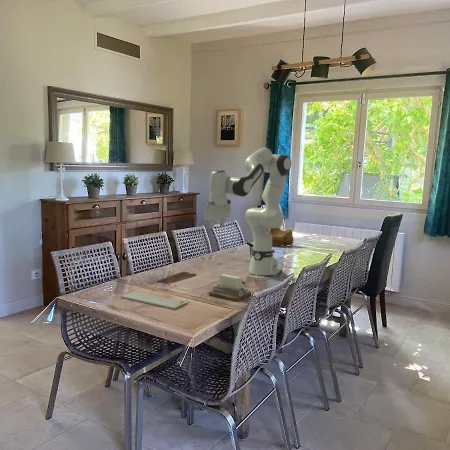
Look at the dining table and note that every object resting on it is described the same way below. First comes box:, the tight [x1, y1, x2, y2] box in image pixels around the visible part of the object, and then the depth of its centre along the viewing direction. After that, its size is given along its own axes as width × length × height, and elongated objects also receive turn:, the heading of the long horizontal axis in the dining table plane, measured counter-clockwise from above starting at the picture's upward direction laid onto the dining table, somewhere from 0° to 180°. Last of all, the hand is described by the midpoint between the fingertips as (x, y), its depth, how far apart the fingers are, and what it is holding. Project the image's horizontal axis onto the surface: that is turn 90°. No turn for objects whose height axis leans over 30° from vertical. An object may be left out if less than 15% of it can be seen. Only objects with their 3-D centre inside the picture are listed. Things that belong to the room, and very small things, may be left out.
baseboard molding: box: [120, 291, 190, 310], centre depth 209 cm, size 31×3×12 cm
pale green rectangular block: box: [218, 273, 243, 291], centre depth 220 cm, size 3×11×8 cm, turn 57°
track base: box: [208, 282, 252, 302], centre depth 221 cm, size 14×16×4 cm
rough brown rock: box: [267, 227, 294, 246], centre depth 357 cm, size 23×17×15 cm
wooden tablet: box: [156, 271, 197, 285], centre depth 250 cm, size 26×2×10 cm
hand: (216, 227), depth 236 cm, fingers open, 8 cm apart
